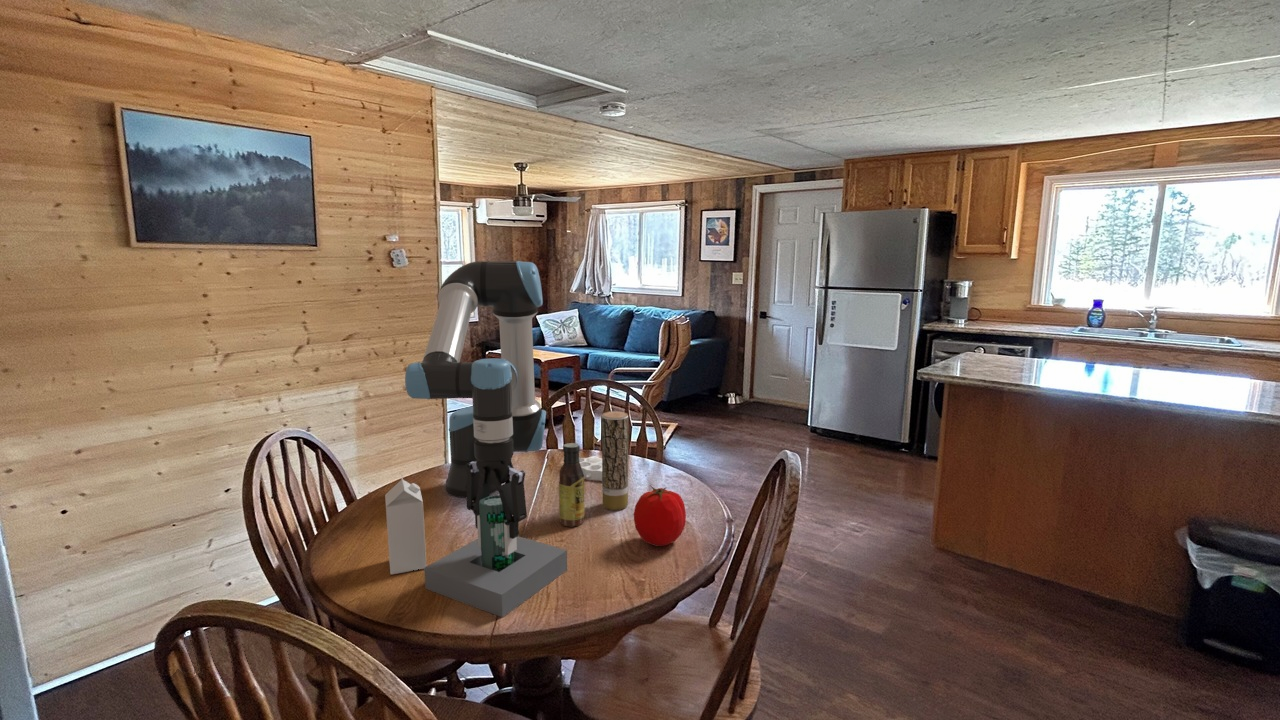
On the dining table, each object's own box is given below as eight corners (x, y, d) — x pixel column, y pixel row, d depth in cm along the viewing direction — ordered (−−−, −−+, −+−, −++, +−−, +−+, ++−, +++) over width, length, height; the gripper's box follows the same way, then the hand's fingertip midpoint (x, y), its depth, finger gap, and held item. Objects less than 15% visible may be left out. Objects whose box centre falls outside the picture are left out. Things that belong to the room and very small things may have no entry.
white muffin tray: (632, 473, 189) (602, 487, 177) (589, 461, 200) (557, 474, 188) (632, 463, 188) (601, 476, 177) (588, 452, 199) (557, 463, 188)
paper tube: (613, 513, 158) (613, 419, 154) (597, 505, 163) (596, 414, 159) (633, 506, 163) (633, 415, 158) (617, 499, 168) (617, 410, 164)
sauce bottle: (580, 529, 149) (579, 450, 146) (555, 526, 150) (554, 448, 147) (587, 518, 155) (587, 442, 152) (564, 515, 156) (563, 440, 153)
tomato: (693, 550, 138) (694, 494, 136) (641, 557, 135) (641, 500, 133) (676, 529, 149) (676, 477, 147) (627, 535, 146) (627, 482, 144)
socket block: (425, 588, 122) (424, 567, 121) (495, 548, 139) (494, 529, 138) (502, 617, 112) (501, 594, 111) (567, 570, 129) (566, 550, 128)
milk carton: (390, 575, 127) (384, 488, 124) (389, 560, 133) (383, 476, 130) (426, 569, 129) (422, 483, 126) (423, 554, 136) (419, 472, 133)
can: (503, 580, 121) (500, 508, 119) (476, 575, 123) (473, 504, 121) (518, 565, 127) (516, 496, 125) (493, 561, 129) (490, 493, 126)
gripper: (443, 435, 122) (448, 544, 126) (519, 450, 113) (522, 567, 116) (471, 426, 128) (475, 530, 132) (544, 440, 119) (547, 551, 123)
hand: (497, 547), depth 124 cm, fingers closed on can, 6 cm apart
